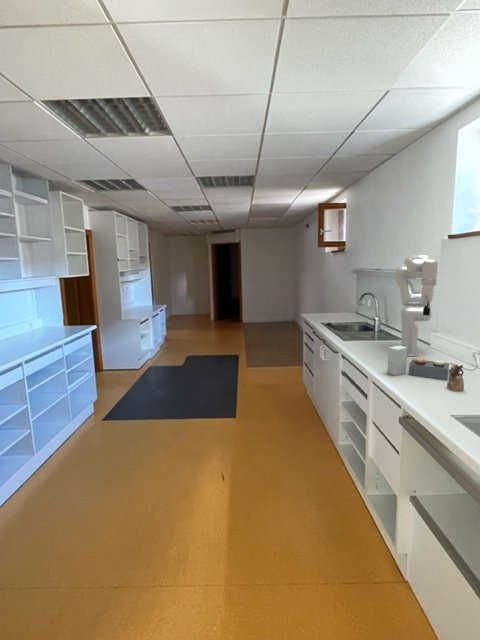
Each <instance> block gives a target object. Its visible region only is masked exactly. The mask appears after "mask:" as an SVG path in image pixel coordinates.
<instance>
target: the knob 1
mask: <svg viewBox="0 0 480 640" xmlns="http://www.w3.org/2000/svg"><path fill="white" fill-rule="evenodd" d="M414 359H415V362H417V363H418V364H424V363H425V361H427V359H426V358H424V357H415V358H414Z"/></svg>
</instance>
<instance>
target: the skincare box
mask: <svg viewBox="0 0 480 640" xmlns="http://www.w3.org/2000/svg"><path fill="white" fill-rule="evenodd" d="M387 351H388V352H387V374H389V375H391V376H395V377H397V376H400V375H405V374H406V373H407V358H408V356H407V348H406V347H403V346H401V345H395V346H391V347H388V350H387Z"/></svg>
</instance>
